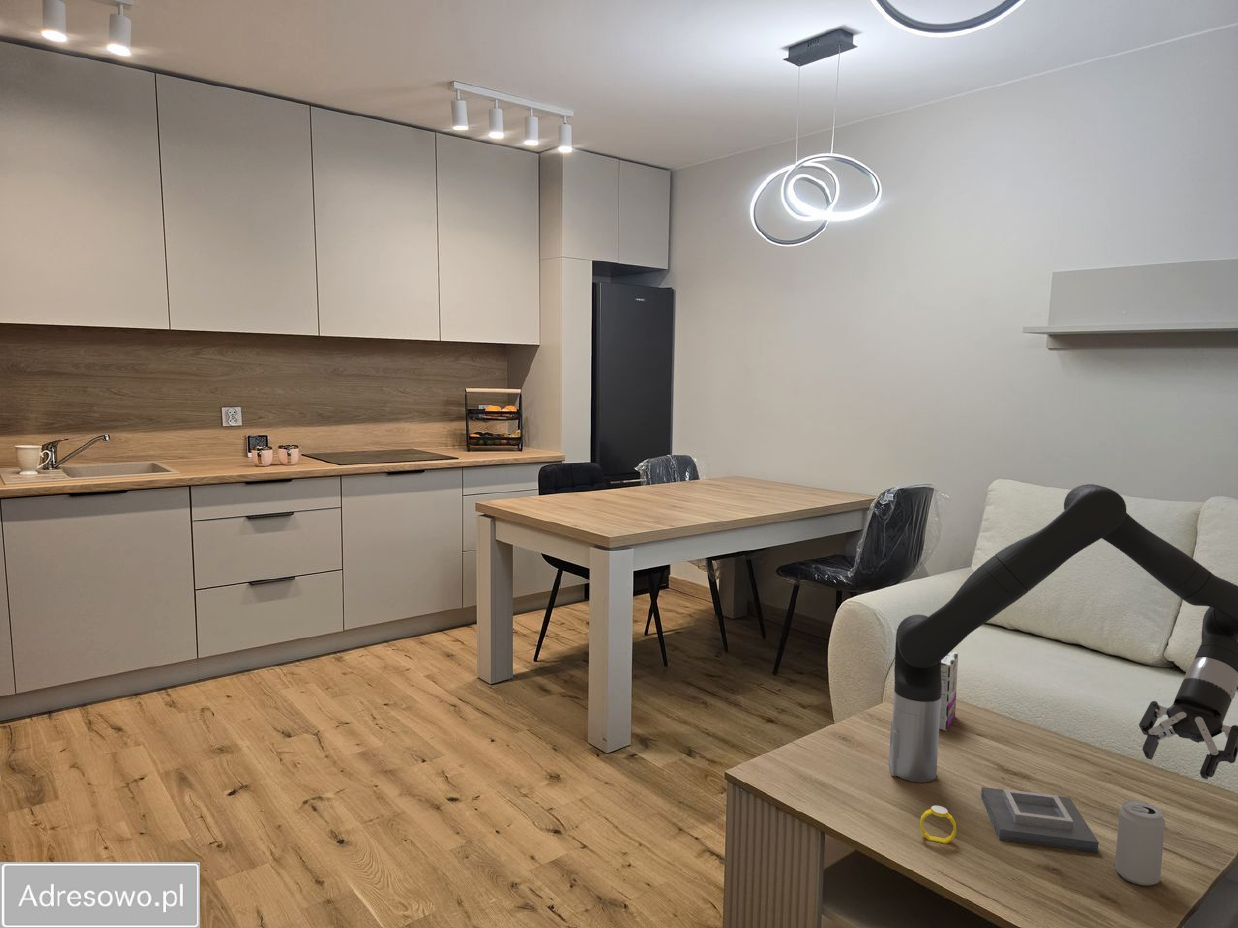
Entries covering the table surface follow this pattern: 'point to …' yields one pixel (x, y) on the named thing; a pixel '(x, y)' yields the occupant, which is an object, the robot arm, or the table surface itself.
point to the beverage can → (1140, 843)
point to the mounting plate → (1038, 819)
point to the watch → (941, 813)
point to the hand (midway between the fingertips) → (1174, 766)
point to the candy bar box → (948, 689)
